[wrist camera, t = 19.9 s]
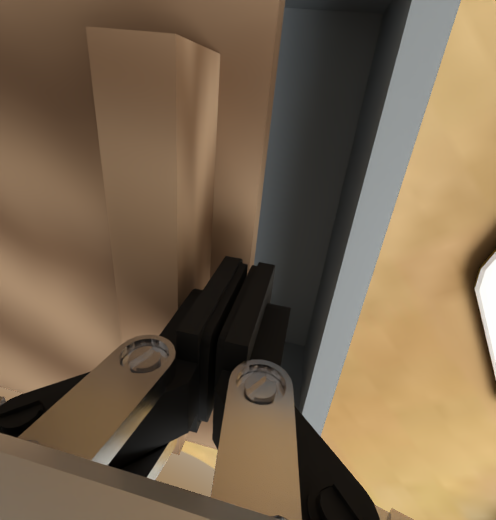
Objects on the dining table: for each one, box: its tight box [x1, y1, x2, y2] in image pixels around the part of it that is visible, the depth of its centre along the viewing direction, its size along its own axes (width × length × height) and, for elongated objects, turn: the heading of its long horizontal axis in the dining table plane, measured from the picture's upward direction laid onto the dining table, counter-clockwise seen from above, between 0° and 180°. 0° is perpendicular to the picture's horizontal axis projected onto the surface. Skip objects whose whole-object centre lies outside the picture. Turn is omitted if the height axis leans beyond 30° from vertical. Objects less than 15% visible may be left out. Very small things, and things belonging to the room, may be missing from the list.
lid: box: [0, 0, 285, 455], centre depth 12 cm, size 22×16×4 cm
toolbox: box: [254, 0, 461, 436], centre depth 18 cm, size 22×23×8 cm
